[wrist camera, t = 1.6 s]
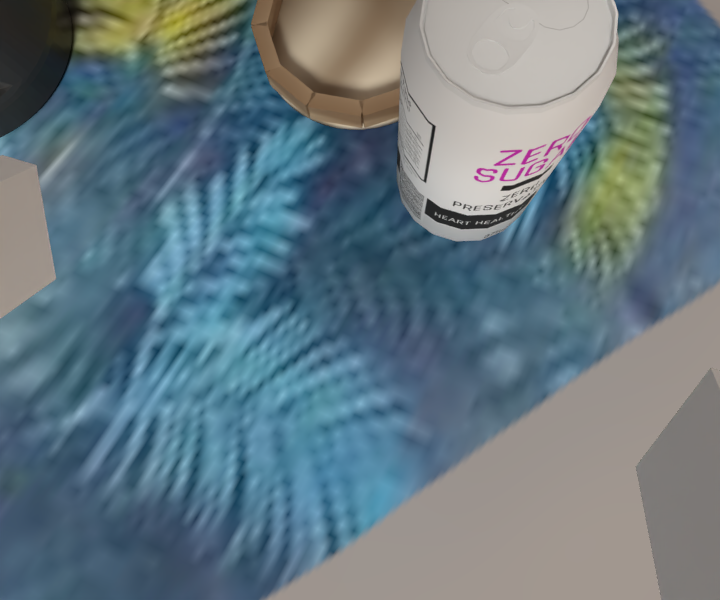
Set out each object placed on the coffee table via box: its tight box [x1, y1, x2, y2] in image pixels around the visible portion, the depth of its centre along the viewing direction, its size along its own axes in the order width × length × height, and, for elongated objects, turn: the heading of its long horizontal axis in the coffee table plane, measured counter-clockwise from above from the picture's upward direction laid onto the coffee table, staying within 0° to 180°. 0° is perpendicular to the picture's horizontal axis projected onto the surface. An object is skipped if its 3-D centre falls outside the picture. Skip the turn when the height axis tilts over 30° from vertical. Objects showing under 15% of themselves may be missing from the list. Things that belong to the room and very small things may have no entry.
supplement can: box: [397, 0, 619, 241], centre depth 27 cm, size 8×8×15 cm
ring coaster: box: [251, 0, 417, 130], centre depth 35 cm, size 13×13×2 cm
